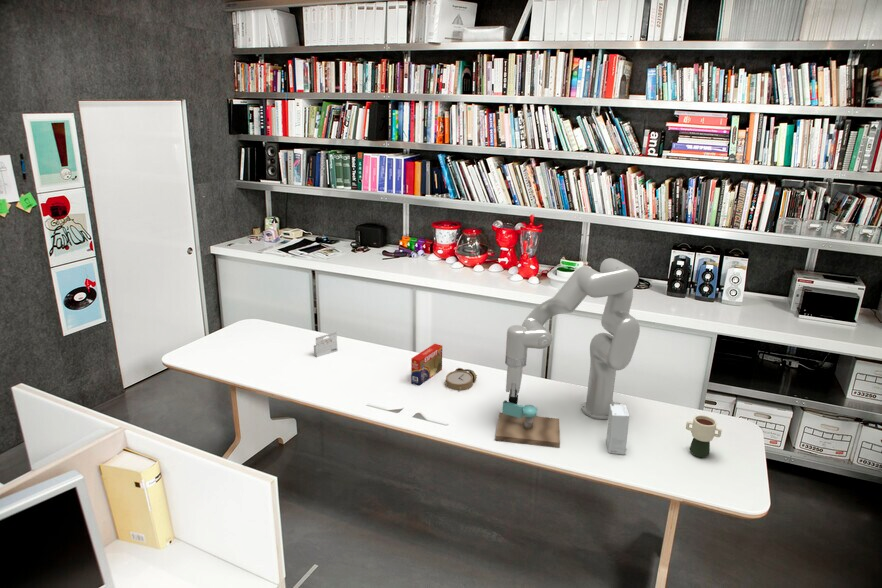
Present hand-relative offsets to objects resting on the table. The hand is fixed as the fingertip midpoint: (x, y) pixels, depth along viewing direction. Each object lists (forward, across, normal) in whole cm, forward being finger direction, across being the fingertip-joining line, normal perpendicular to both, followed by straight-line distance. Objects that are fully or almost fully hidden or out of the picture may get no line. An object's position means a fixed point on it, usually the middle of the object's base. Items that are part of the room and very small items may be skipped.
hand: (512, 405), depth 217 cm
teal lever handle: (+2, +4, +3) cm, 5 cm away
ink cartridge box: (+8, -42, -88) cm, 98 cm away
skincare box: (+7, +9, +36) cm, 38 cm away
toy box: (+7, -29, -38) cm, 49 cm away
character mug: (+7, +7, +64) cm, 65 cm away
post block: (+7, +5, +6) cm, 11 cm away
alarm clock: (+8, -27, -23) cm, 36 cm away
